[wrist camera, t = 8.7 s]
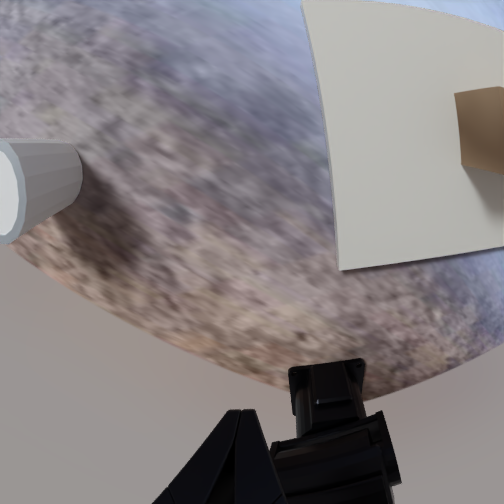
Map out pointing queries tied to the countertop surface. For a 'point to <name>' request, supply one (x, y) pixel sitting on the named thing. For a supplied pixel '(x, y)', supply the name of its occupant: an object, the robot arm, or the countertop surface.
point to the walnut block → (481, 128)
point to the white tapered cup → (35, 182)
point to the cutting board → (403, 129)
